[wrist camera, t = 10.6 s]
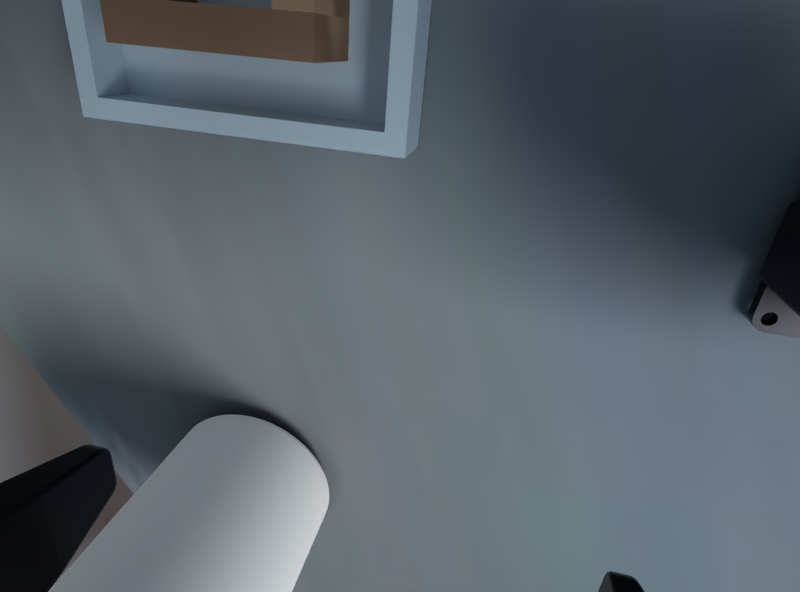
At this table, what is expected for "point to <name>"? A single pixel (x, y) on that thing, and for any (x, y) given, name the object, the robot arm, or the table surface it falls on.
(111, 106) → the tray
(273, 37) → the ring
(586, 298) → the table surface
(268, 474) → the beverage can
